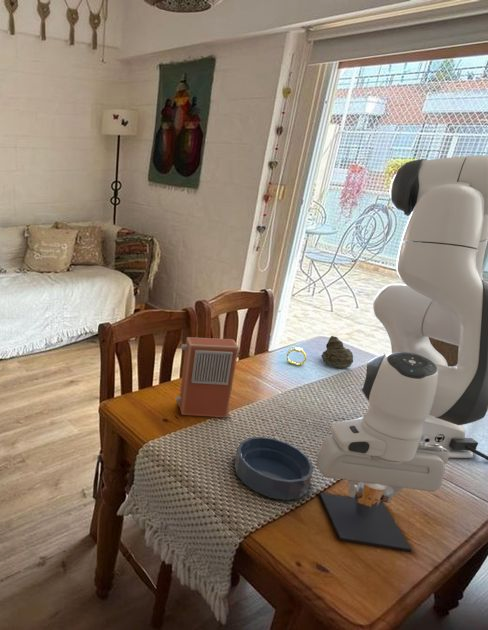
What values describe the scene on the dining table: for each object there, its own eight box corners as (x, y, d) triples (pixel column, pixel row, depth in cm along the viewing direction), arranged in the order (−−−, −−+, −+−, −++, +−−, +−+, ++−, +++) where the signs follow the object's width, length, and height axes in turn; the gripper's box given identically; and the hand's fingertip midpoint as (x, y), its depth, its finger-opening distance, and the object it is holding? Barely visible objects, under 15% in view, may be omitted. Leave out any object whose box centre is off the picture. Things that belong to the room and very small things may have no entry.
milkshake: (382, 527, 84) (396, 485, 80) (349, 515, 86) (361, 474, 83) (381, 511, 87) (394, 471, 84) (350, 501, 90) (361, 461, 86)
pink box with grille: (174, 403, 128) (226, 406, 126) (177, 416, 121) (232, 420, 120) (181, 335, 120) (237, 338, 119) (185, 345, 114) (244, 349, 112)
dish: (297, 459, 105) (301, 441, 103) (317, 506, 91) (322, 486, 89) (230, 450, 108) (233, 433, 106) (240, 494, 94) (244, 475, 92)
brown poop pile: (353, 342, 156) (321, 336, 159) (363, 335, 145) (329, 330, 148) (349, 373, 154) (317, 367, 157) (359, 368, 143) (324, 362, 147)
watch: (284, 363, 153) (288, 348, 151) (285, 360, 155) (288, 345, 153) (304, 367, 150) (307, 352, 148) (304, 364, 152) (308, 349, 150)
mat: (381, 503, 92) (381, 501, 92) (410, 551, 81) (411, 549, 81) (319, 494, 94) (319, 492, 94) (339, 540, 83) (340, 537, 83)
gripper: (441, 436, 81) (419, 494, 86) (322, 422, 85) (307, 479, 90) (462, 457, 76) (438, 519, 81) (333, 441, 80) (317, 501, 84)
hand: (368, 498), depth 85 cm, fingers closed on milkshake, 4 cm apart
